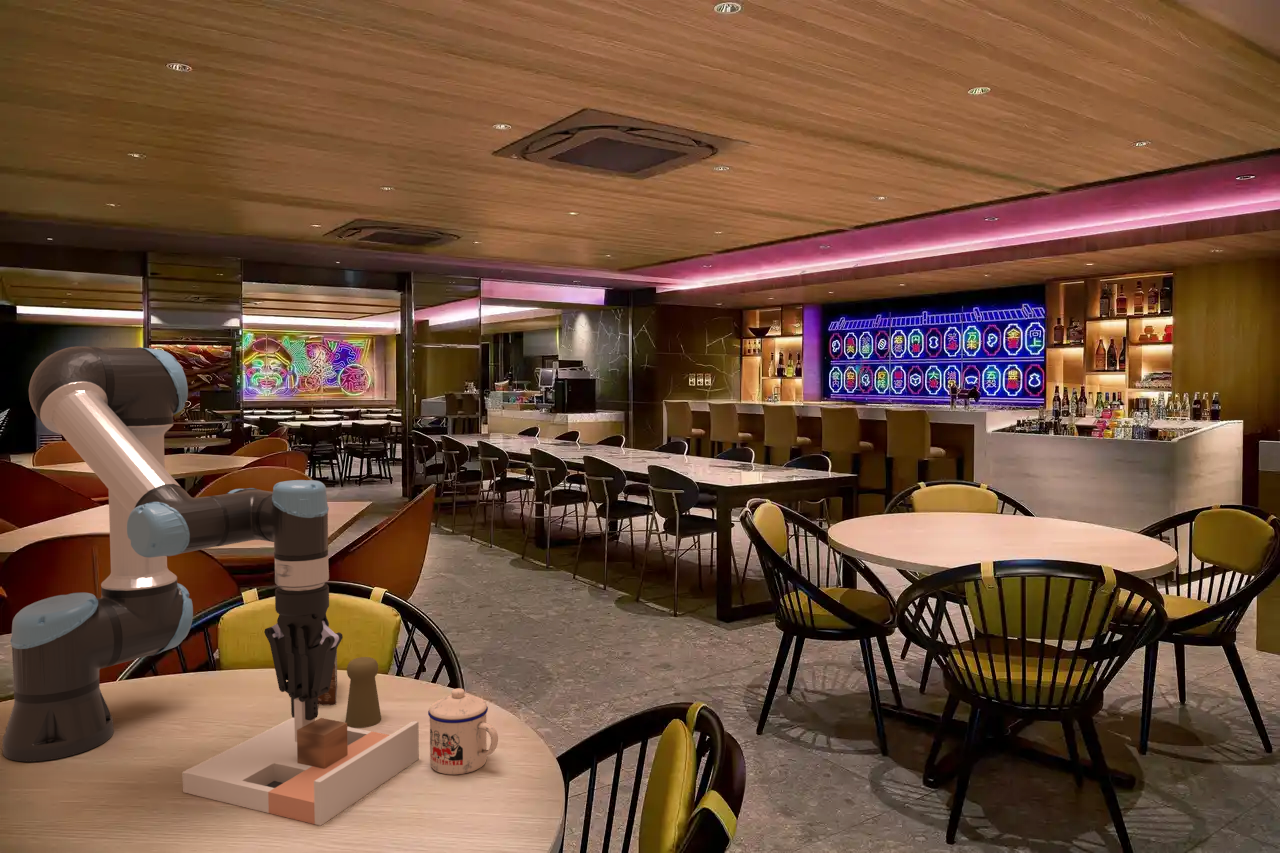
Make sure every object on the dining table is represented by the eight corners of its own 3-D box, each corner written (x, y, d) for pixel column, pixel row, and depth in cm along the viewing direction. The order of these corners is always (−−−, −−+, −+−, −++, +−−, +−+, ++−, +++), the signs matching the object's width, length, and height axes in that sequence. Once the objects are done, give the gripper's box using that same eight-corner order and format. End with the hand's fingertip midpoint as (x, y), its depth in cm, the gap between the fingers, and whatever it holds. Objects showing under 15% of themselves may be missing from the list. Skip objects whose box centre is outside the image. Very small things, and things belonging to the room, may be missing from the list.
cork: (370, 729, 150) (369, 666, 149) (338, 726, 151) (337, 663, 150) (387, 715, 156) (386, 654, 155) (356, 712, 157) (355, 652, 156)
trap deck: (182, 792, 127) (181, 751, 127) (294, 734, 148) (293, 699, 147) (320, 825, 118) (319, 782, 118) (418, 759, 139) (418, 721, 138)
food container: (303, 687, 169) (302, 636, 169) (337, 684, 171) (336, 633, 171) (299, 711, 158) (298, 656, 157) (335, 707, 160) (334, 653, 159)
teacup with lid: (416, 768, 135) (415, 694, 135) (455, 746, 143) (454, 676, 143) (477, 786, 130) (477, 708, 129) (514, 762, 138) (514, 689, 137)
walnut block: (297, 763, 130) (296, 730, 130) (321, 749, 135) (320, 717, 134) (324, 769, 128) (323, 735, 128) (347, 755, 133) (347, 722, 133)
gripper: (249, 586, 130) (252, 742, 131) (319, 594, 125) (322, 756, 127) (286, 575, 137) (289, 723, 138) (354, 583, 132) (356, 736, 134)
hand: (305, 738), depth 132 cm, fingers closed
